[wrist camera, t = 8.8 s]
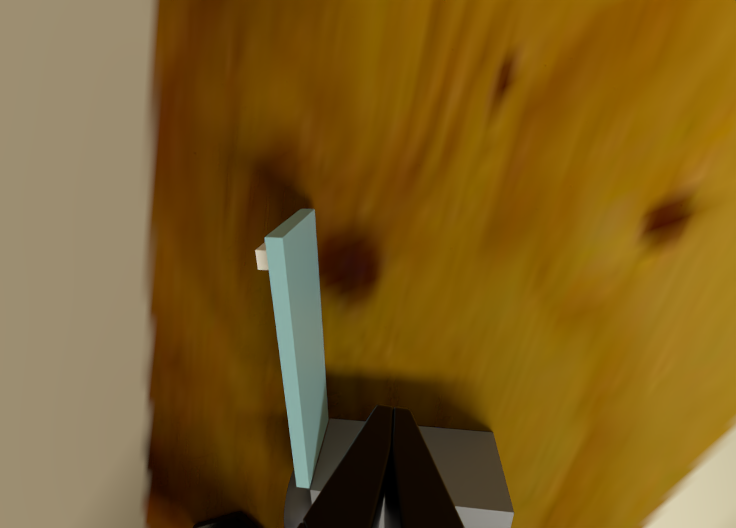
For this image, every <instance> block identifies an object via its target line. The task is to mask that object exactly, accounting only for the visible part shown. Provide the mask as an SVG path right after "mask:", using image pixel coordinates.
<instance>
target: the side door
mask: <svg viewBox="0 0 736 528" xmlns="http://www.w3.org/2000/svg"><path fill="white" fill-rule="evenodd" d="M255 252H256V259H257V266H258V270H269V276H270V284H271V291H272V299H273V307H274V315H275V323H276V330H277V338H278V346H279V354H280V362H281V369H282V377H283V385H284V393H285V401H286V408H287V416H288V424H289V432H290V439H291V447H292V455H293V463H294V471H295V478H296V486H297V487H301V488H310V484H311V481H312V477H313V474H314V470H315V467H316V463H317V459H318V456H319V452H320V449H321V445H322V441H323V438H324V434H325V431H326V427H327V424H328V420H329V419H328V404H327V389H326V374H325V359H324V344H323V329H322V314H321V299H320V284H319V269H318V254H317V239H316V224H315V209H300V210H299V211H297V212H296V213H295V214H294V215H292V216H291V217H290V218H288V219H287V220H286V221H285V222H283V223H282V224H281V225H279V226H278V227H277V228H276V229H274V230H273V231H272V232H271V233H269V234H268V235H267V236H265V243H263V244H262V245H261V246H260V247H258V248H257V249H256V250H255Z"/></svg>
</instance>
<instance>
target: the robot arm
mask: <svg viewBox="0 0 736 528" xmlns="http://www.w3.org/2000/svg"><path fill="white" fill-rule="evenodd" d="M384 495H385V497H384ZM383 502H384V528H465V527H464V525H463V523H462V521H461V518H460V516H459V514H458V512H457V510H456V508H455V505H454V503H453V501H452V499H451V497H450V495H449V492H448V490H447V488H446V486H445V484H444V481H443V479H442V477H441V475H440V473H439V471H438V468H437V466H436V464H435V462H434V460H433V457H432V455H431V453H430V451H429V449H428V447H427V444H426V442H425V440H424V438H423V436H422V434H421V431H420V429H419V427H418V425H417V423H416V420H415V418H414V416H413V414H412V412H411V410H410V409H409V408H403V407H394V409H393V407H392V406H390V405H383V404H378V405H376V407H375V408H374V410H373V411H372V413H371V414H370V416H369V417H368V419H367V420H366V422H365V424H364V425H363V427H362V428H361V430H360V431H359V433H358V434H357V436H356V437H355V439H354V441H353V442H352V444H351V445H350V447H349V448H348V450H347V451H346V453H345V454H344V456H343V458H342V459H341V461H340V462H339V464H338V465H337V467H336V468H335V470H334V472H333V473H332V475H331V476H330V478H329V479H328V481H327V482H326V484H325V485H324V487H323V489H322V490H321V492H320V493H319V495H318V496H317V498H316V499H315V501H314V502H313V504H312V506H311V507H310V509H309V510H308V512H307V513H306V515H305V516H304V518H303V522H301V523H300V524H299V525H298V527H297V528H379V524H380V519H381V514H382V508H383ZM193 528H257V527H256V526H255V525H254V524H253V523H252V522H251V521H250V520H249V519H248V518H247V517H246V516H245V515H244V514H243V513H241V512H236V513H233V514H230V515H226V516H223V517H219V518H216V519H213V520H209V521H206V522H203V523H199V524H196V525H194V526H193Z"/></svg>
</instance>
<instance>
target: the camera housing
mask: <svg viewBox="0 0 736 528" xmlns="http://www.w3.org/2000/svg"><path fill="white" fill-rule="evenodd" d="M365 422H366V421H354V420H342V419H330V420H329V424H328V428H327V431H326V435H325V438H324V442H323V446H322V449H321V453H320V457H319V460H318V463H316V467H315V470H314V474H313V477H312V481H311V484H310V488H301V487H297V486H296V478H295V471H294V470H293V472H292V475H291V478H290V482H289V486H288V490H287V495H286V501H285V509H284V526H285V528H297V527H298V525H299V524H300V523H301V522H303V518H304V516H305V515H306V513H307V512H308V510H309V509H310V507H311V506H312V504H313V502H314V501H315V499H316V498H317V496H318V495H319V493H320V492H321V490H322V489H323V487H324V485H325V484H326V482H327V481H328V479H329V478H330V476H331V475H332V473H333V472H334V470H335V468H336V467H337V465H338V464H339V462H340V461H341V459H342V458H343V456H344V454H345V453H346V451H347V450H348V448H349V447H350V445H351V444H352V442H353V441H354V439H355V437H356V436H357V434H358V433H359V431H360V430H361V428H362V427H363V425H364V424H365ZM418 427H419V429H420V431H421V434H422V436H423V438H424V440H425V442H426V444H427V447H428V449H429V451H430V453H431V455H432V457H433V460H434V462H435V464H436V466H437V468H438V471H439V473H440V475H441V477H442V479H443V481H444V484H445V486H446V488H447V490H448V492H449V495H450V497H451V499H452V501H453V503H454V505H455V508H456V510H457V512H458V514H459V516H460V518H461V521H462V523H463V525H464V527H465V528H511V523H512V519H513V515H514V511H513V507H512V503H511V499H510V496H509V492H508V488H507V484H506V480H505V476H504V473H503V469H502V465H501V461H500V457H499V454H498V450H497V446H496V442H495V438H494V434H493V432H483V431H471V430H459V429H447V428H436V427H424V426H418ZM384 497H385V495H384ZM379 528H384V502H383V508H382V514H381V519H380V524H379Z"/></svg>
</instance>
